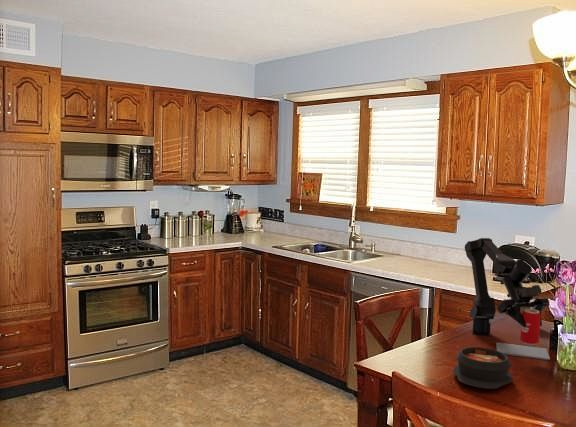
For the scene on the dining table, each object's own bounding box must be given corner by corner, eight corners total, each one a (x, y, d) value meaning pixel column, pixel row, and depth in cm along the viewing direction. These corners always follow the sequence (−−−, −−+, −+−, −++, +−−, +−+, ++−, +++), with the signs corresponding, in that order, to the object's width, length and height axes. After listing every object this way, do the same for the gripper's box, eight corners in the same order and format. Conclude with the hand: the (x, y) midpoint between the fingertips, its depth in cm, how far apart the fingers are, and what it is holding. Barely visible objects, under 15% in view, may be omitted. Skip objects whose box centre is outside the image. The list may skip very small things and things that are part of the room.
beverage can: (522, 338, 199) (525, 307, 198) (540, 342, 195) (543, 310, 194) (517, 343, 195) (520, 310, 193) (535, 347, 191) (538, 314, 189)
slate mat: (496, 353, 202) (497, 351, 202) (496, 343, 213) (496, 342, 213) (549, 360, 196) (550, 358, 196) (546, 350, 207) (546, 348, 207)
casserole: (460, 362, 192) (461, 339, 191) (516, 372, 183) (518, 348, 182) (444, 386, 170) (446, 360, 169) (508, 399, 161) (510, 372, 160)
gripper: (504, 277, 194) (522, 316, 185) (548, 276, 199) (568, 314, 189) (489, 293, 202) (506, 331, 193) (531, 292, 207) (550, 329, 198)
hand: (533, 326), depth 193 cm, fingers closed on beverage can, 6 cm apart
